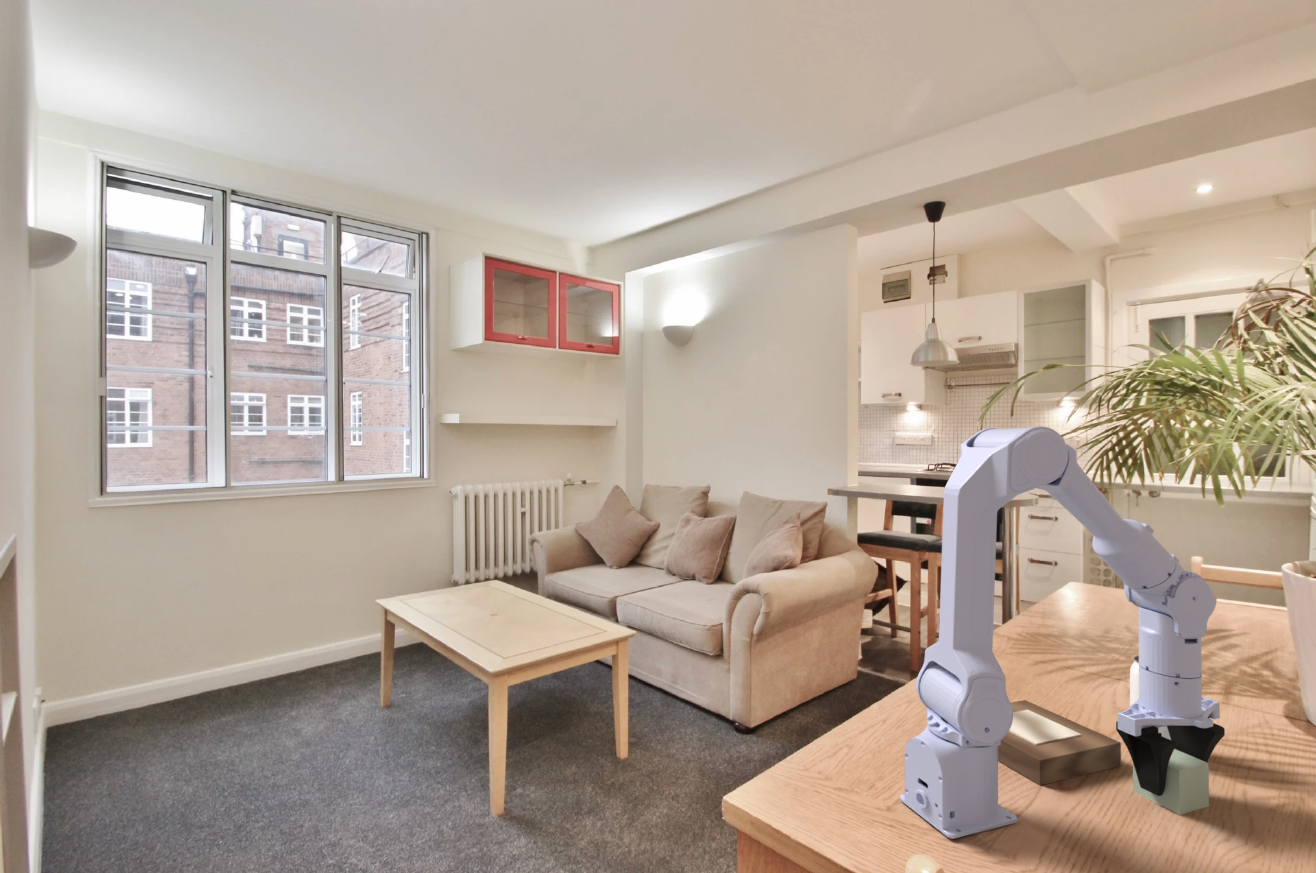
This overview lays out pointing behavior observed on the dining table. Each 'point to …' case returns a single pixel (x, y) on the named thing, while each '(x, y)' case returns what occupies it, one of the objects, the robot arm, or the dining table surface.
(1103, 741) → the base
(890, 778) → the dining table surface
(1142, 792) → the cube
